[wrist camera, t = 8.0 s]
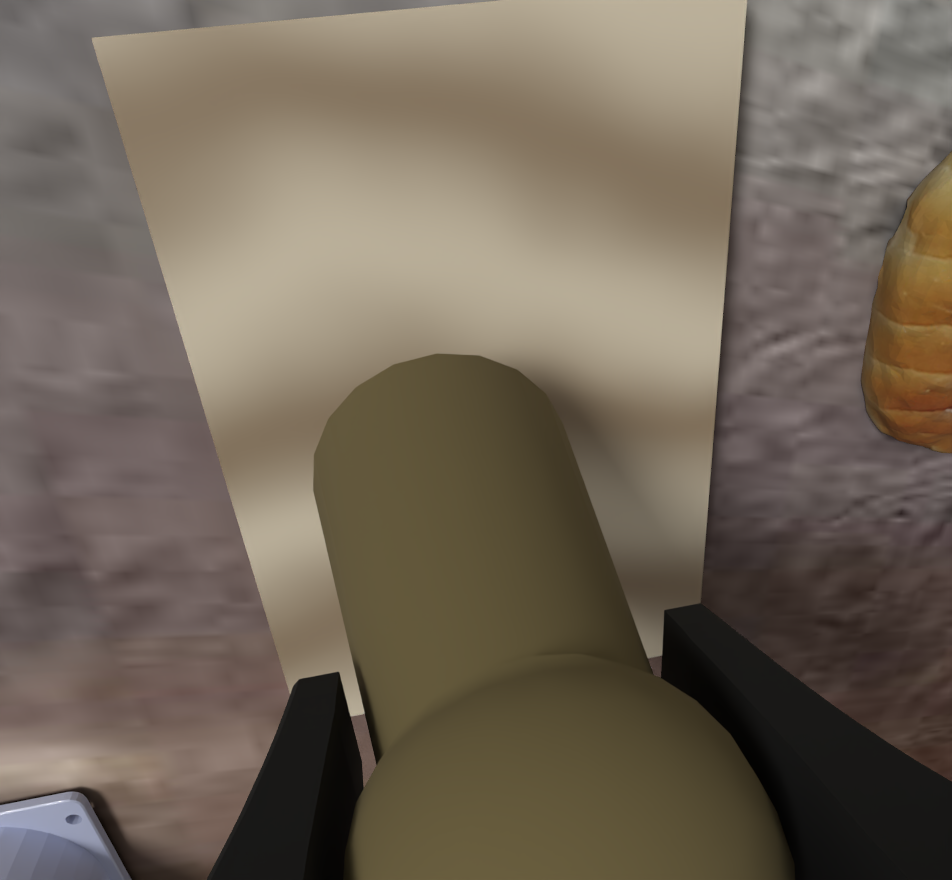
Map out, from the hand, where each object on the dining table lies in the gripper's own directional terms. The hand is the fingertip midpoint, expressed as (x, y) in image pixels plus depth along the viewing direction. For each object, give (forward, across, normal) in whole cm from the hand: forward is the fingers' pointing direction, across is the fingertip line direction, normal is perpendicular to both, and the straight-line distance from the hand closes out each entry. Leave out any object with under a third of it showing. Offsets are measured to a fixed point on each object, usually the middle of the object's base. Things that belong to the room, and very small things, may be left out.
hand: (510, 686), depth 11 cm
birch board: (+10, -1, 0) cm, 10 cm away
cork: (+6, 0, 0) cm, 6 cm away
